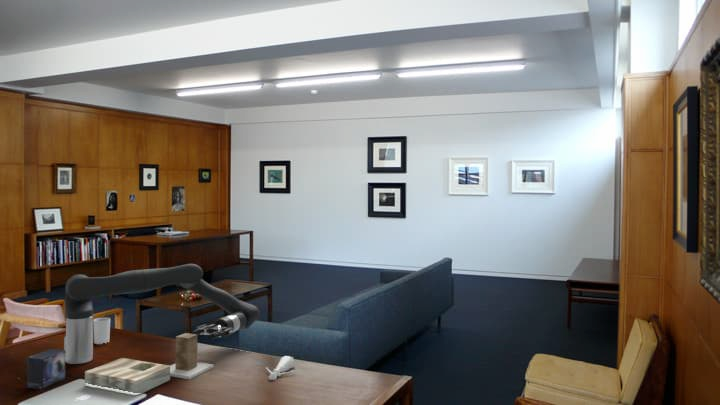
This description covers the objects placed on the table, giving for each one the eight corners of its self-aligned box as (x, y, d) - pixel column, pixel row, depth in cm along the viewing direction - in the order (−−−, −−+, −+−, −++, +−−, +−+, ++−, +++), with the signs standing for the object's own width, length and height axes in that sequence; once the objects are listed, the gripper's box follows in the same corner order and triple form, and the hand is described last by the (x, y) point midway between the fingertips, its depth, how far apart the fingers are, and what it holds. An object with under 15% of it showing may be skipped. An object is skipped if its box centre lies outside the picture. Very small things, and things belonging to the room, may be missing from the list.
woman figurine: (304, 355, 200) (285, 373, 183) (304, 366, 201) (286, 386, 184) (276, 352, 203) (255, 370, 186) (276, 363, 204) (255, 382, 186)
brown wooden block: (175, 369, 192) (175, 336, 192) (185, 364, 197) (185, 333, 197) (187, 371, 190) (187, 338, 190) (197, 366, 195) (197, 334, 195)
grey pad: (157, 373, 190) (157, 371, 190) (183, 362, 203) (183, 359, 203) (189, 379, 185) (189, 376, 185) (213, 367, 198) (213, 364, 198)
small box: (42, 390, 173) (42, 358, 173) (25, 388, 174) (25, 357, 174) (66, 379, 183) (66, 349, 183) (50, 377, 184) (50, 348, 184)
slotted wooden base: (84, 386, 177) (84, 371, 176) (121, 371, 192) (121, 357, 192) (136, 396, 169) (136, 380, 169) (170, 379, 184) (170, 365, 184)
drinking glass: (113, 341, 229) (113, 318, 229) (100, 345, 223) (100, 322, 223) (103, 339, 232) (103, 317, 232) (89, 343, 226) (89, 320, 226)
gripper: (212, 314, 220) (187, 323, 204) (241, 318, 215) (217, 327, 199) (212, 332, 220) (187, 343, 205) (241, 336, 215) (217, 347, 200)
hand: (202, 335), depth 202 cm, fingers open, 8 cm apart
